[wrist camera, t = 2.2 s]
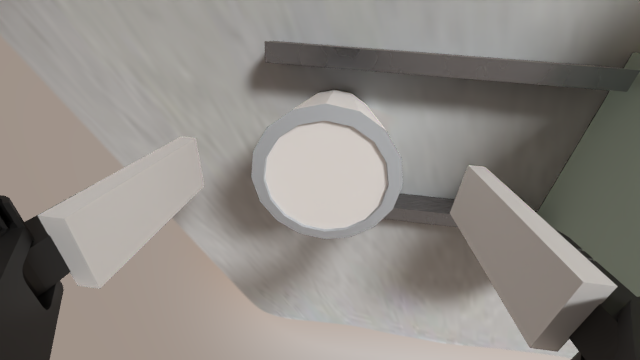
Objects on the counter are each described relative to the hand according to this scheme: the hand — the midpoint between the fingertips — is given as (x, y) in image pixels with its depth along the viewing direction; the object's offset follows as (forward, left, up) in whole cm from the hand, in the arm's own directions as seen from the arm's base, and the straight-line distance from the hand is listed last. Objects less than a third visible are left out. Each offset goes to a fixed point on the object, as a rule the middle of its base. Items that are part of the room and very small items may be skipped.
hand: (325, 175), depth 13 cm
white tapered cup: (0, 0, -6) cm, 6 cm away
